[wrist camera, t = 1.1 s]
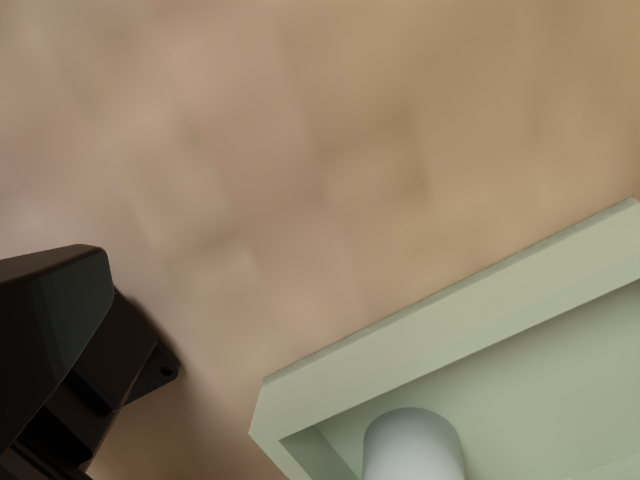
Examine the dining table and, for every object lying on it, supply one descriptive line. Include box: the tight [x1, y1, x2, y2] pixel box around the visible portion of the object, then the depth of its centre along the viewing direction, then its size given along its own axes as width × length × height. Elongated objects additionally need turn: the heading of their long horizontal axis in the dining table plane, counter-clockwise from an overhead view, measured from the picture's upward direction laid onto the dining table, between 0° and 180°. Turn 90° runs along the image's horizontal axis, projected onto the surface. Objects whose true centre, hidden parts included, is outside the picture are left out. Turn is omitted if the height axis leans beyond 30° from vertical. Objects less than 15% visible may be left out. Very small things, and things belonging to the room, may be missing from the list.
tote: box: [248, 196, 640, 480], centre depth 23 cm, size 16×11×3 cm
